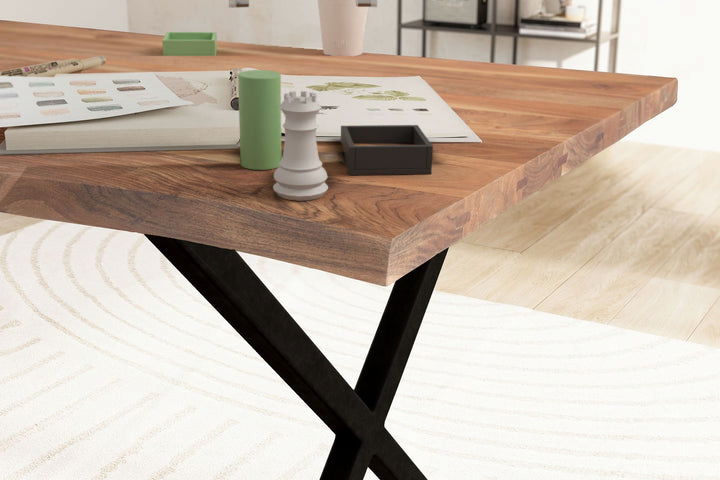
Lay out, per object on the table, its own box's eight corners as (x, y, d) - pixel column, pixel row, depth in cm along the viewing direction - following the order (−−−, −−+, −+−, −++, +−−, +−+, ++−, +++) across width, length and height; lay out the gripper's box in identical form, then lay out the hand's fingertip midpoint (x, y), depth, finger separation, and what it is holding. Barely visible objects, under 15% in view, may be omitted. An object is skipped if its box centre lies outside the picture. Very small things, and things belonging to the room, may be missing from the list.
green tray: (163, 58, 123) (162, 40, 122) (167, 49, 130) (166, 32, 129) (215, 58, 124) (214, 40, 123) (217, 49, 131) (216, 32, 130)
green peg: (240, 170, 76) (237, 78, 73) (240, 158, 79) (238, 69, 76) (282, 170, 77) (281, 78, 74) (280, 158, 80) (279, 69, 77)
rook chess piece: (283, 204, 68) (282, 102, 65) (265, 187, 72) (263, 90, 69) (337, 198, 70) (338, 98, 67) (316, 181, 74) (316, 86, 71)
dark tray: (349, 175, 76) (349, 147, 75) (340, 151, 82) (340, 125, 81) (431, 174, 76) (433, 146, 76) (416, 150, 83) (417, 124, 82)
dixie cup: (366, 59, 126) (368, -14, 122) (309, 56, 127) (309, -16, 123) (374, 49, 133) (376, -19, 130) (320, 47, 135) (320, -22, 131)
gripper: (440, -194, 65) (432, 0, 70) (155, -201, 62) (168, 1, 67) (460, -201, 59) (449, 11, 64) (146, -209, 56) (161, 12, 62)
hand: (303, 6), depth 66 cm, fingers open, 8 cm apart
